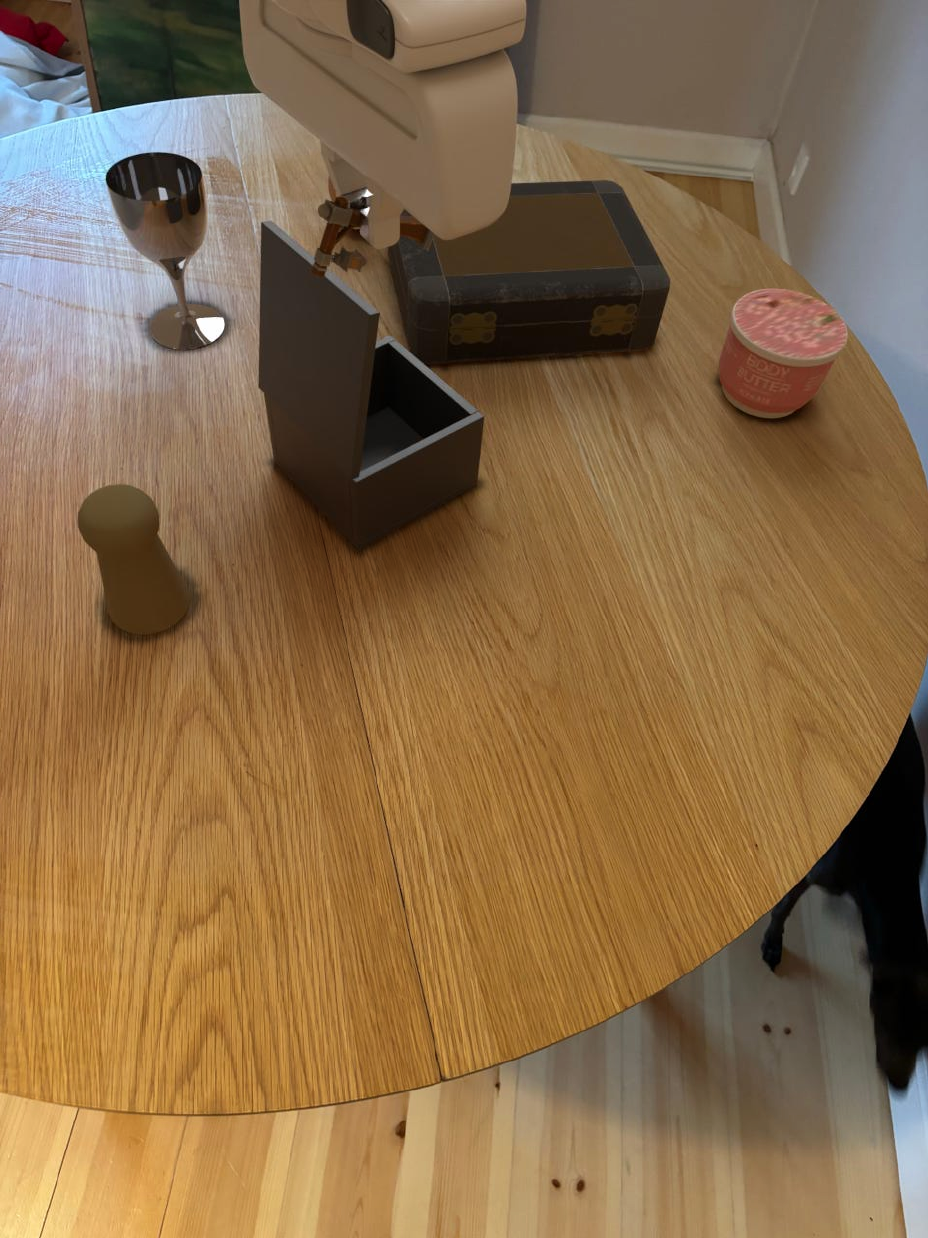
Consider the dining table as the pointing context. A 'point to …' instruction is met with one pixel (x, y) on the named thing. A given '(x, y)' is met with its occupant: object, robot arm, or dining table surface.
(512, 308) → the jewelry box
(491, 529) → the dining table surface
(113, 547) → the pepper shaker
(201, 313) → the wine glass
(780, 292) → the container
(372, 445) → the box
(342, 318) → the lid
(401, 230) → the wooden post with brackets
